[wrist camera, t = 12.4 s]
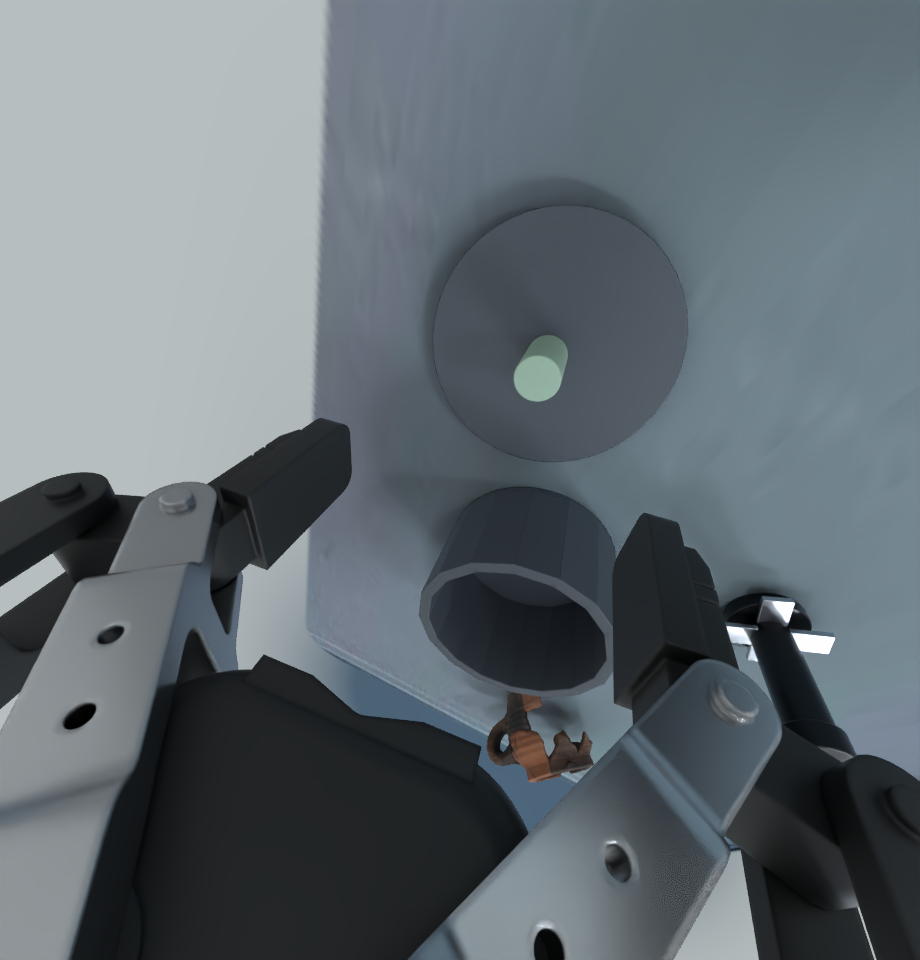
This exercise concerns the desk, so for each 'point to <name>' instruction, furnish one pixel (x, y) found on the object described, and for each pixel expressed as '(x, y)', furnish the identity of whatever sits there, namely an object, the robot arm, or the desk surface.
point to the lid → (560, 333)
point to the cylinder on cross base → (788, 665)
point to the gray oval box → (525, 594)
